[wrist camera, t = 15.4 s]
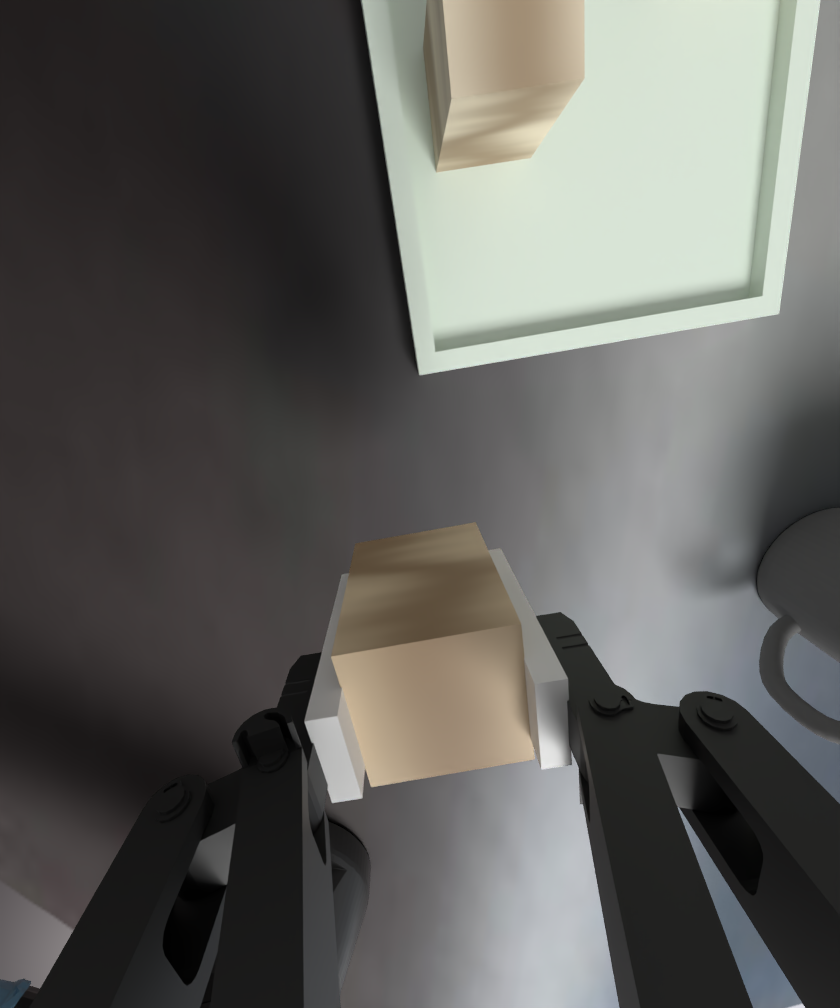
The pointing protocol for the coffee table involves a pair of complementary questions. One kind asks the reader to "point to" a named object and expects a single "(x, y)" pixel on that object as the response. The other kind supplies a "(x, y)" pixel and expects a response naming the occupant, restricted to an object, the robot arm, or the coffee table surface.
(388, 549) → the oak block
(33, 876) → the coffee table surface
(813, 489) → the coffee table surface
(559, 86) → the beech block
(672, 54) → the tray
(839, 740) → the mug
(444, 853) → the coffee table surface
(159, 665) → the coffee table surface
